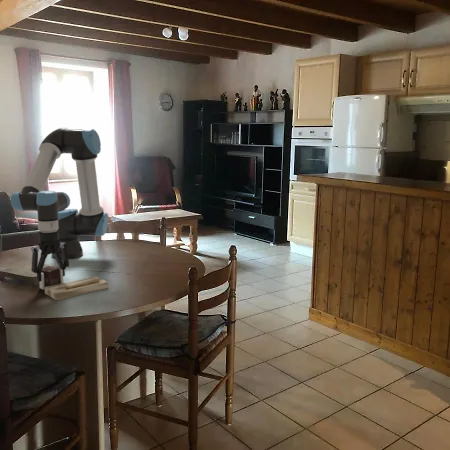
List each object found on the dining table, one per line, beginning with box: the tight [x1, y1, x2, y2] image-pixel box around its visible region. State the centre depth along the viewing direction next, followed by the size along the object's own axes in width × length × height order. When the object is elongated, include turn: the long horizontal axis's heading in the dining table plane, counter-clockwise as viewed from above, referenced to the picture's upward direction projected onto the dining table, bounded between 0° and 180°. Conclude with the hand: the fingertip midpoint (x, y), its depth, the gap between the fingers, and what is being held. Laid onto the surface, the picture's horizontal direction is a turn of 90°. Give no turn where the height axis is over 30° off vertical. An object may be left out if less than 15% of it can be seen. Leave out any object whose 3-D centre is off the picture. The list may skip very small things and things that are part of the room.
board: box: [44, 275, 109, 301], centre depth 189 cm, size 10×22×3 cm, turn 134°
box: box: [38, 265, 60, 288], centre depth 191 cm, size 6×6×7 cm
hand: (51, 286), depth 191 cm, fingers closed on box, 7 cm apart
